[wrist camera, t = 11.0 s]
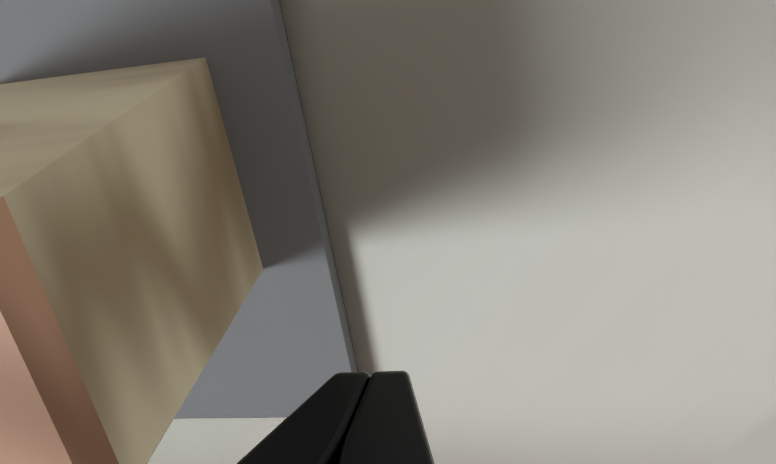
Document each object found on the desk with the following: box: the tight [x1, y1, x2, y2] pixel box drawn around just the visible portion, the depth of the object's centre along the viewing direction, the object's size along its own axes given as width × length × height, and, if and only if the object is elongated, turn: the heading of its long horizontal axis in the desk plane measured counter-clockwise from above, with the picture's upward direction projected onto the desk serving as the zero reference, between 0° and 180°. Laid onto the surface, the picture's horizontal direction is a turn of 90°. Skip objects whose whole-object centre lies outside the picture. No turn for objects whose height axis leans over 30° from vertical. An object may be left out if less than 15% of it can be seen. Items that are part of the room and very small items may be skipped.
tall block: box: [0, 57, 263, 464], centre depth 13 cm, size 5×5×8 cm
